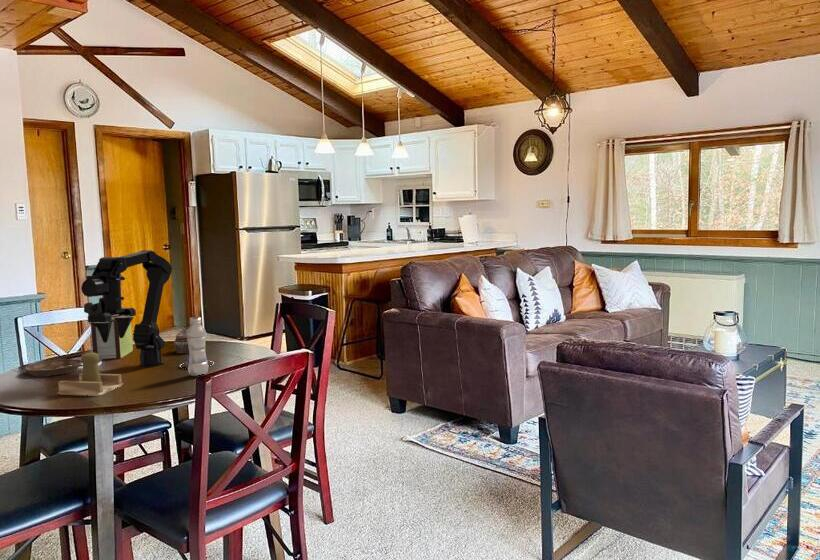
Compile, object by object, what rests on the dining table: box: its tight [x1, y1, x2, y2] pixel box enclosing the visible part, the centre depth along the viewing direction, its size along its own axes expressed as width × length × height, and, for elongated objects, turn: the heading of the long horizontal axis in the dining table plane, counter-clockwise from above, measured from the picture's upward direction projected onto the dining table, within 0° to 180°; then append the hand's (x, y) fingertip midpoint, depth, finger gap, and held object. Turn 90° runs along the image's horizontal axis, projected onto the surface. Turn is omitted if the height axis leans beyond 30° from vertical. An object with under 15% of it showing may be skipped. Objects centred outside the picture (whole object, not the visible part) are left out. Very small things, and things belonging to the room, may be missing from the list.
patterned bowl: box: [179, 354, 215, 370], centre depth 224 cm, size 12×12×5 cm
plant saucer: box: [24, 358, 82, 377], centre depth 219 cm, size 18×18×3 cm
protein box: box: [90, 316, 134, 360], centre depth 244 cm, size 10×15×16 cm
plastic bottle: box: [186, 316, 209, 377], centre depth 208 cm, size 6×7×20 cm
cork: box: [80, 352, 102, 382], centre depth 194 cm, size 6×6×11 cm
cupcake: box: [173, 326, 190, 354], centre depth 248 cm, size 10×10×10 cm
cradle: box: [57, 373, 124, 397], centre depth 194 cm, size 12×14×4 cm
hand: (113, 340), depth 208 cm, fingers open, 9 cm apart
